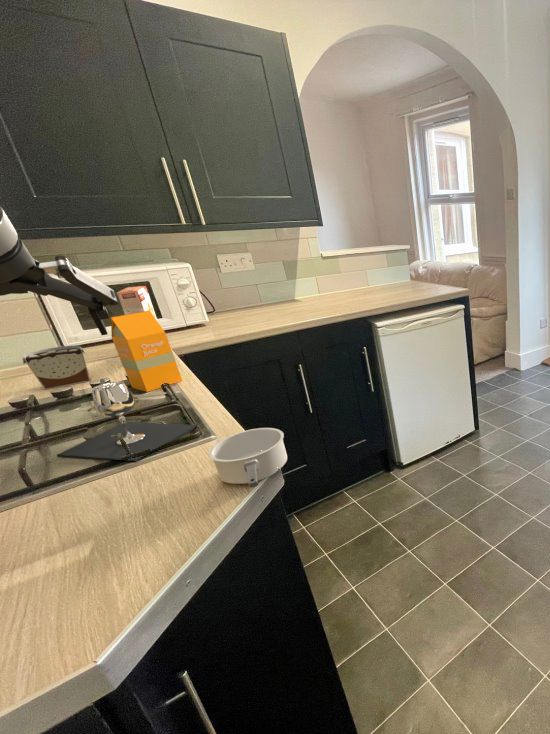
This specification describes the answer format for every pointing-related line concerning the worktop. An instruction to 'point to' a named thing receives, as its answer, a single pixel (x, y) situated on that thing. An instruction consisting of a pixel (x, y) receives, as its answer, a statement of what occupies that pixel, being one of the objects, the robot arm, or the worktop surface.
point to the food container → (58, 366)
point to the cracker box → (135, 300)
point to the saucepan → (249, 455)
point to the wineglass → (115, 405)
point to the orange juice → (144, 351)
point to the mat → (110, 450)
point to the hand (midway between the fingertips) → (45, 336)
